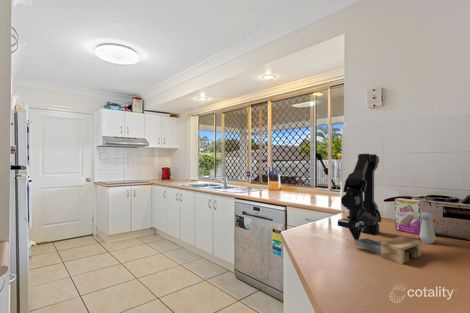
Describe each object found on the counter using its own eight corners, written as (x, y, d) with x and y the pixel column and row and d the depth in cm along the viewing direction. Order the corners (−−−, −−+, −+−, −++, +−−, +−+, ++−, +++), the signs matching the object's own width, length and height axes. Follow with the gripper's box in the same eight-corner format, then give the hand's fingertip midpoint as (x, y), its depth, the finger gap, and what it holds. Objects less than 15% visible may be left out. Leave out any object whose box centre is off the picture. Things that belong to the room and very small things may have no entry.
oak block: (381, 257, 91) (380, 242, 91) (400, 249, 99) (400, 236, 99) (401, 264, 85) (401, 248, 85) (420, 255, 93) (420, 240, 93)
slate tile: (355, 245, 106) (355, 240, 106) (367, 243, 108) (367, 238, 108) (385, 257, 93) (385, 250, 93) (398, 254, 95) (398, 248, 95)
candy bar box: (395, 230, 128) (394, 198, 129) (399, 228, 131) (398, 198, 131) (420, 235, 119) (419, 201, 119) (424, 233, 122) (423, 200, 122)
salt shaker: (439, 244, 105) (438, 214, 105) (423, 244, 106) (423, 214, 107) (431, 240, 111) (430, 211, 111) (416, 239, 112) (416, 211, 112)
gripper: (361, 210, 96) (362, 250, 95) (386, 205, 106) (386, 242, 105) (336, 206, 105) (337, 242, 105) (361, 202, 115) (361, 235, 115)
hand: (356, 240), depth 107 cm, fingers closed
